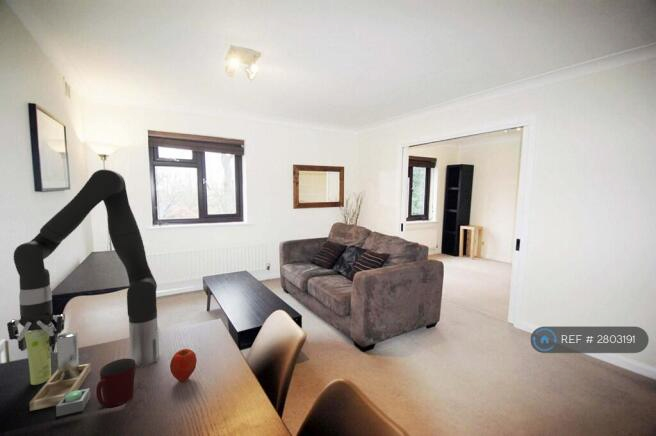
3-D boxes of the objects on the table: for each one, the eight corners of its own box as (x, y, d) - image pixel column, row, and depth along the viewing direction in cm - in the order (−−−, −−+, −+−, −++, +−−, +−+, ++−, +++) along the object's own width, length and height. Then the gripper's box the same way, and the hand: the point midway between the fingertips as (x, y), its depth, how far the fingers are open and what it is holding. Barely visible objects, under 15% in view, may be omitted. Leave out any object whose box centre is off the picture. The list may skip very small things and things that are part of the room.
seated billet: (81, 374, 99) (80, 330, 98) (75, 383, 95) (73, 337, 94) (62, 377, 97) (60, 333, 96) (55, 387, 93) (53, 340, 92)
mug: (113, 418, 81) (112, 382, 81) (84, 417, 82) (82, 381, 81) (142, 390, 93) (141, 358, 93) (116, 389, 94) (115, 358, 93)
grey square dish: (90, 400, 88) (89, 388, 88) (83, 413, 83) (82, 400, 83) (66, 405, 86) (65, 393, 86) (56, 419, 81) (56, 406, 80)
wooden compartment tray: (91, 372, 102) (90, 363, 102) (70, 405, 86) (69, 394, 86) (58, 378, 98) (57, 369, 98) (30, 413, 82) (29, 402, 82)
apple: (201, 380, 99) (200, 351, 98) (175, 392, 93) (174, 361, 92) (191, 369, 105) (191, 342, 104) (166, 380, 99) (166, 351, 98)
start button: (83, 398, 87) (83, 388, 87) (79, 406, 83) (78, 396, 83) (69, 401, 85) (68, 392, 85) (63, 410, 82) (63, 399, 82)
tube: (48, 385, 95) (45, 329, 94) (27, 390, 92) (24, 333, 91) (53, 376, 100) (50, 323, 98) (33, 381, 97) (30, 326, 95)
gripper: (-2, 306, 88) (2, 357, 89) (58, 300, 93) (60, 348, 95) (13, 298, 94) (16, 346, 96) (68, 293, 100) (70, 338, 101)
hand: (38, 347), depth 95 cm, fingers open, 6 cm apart
